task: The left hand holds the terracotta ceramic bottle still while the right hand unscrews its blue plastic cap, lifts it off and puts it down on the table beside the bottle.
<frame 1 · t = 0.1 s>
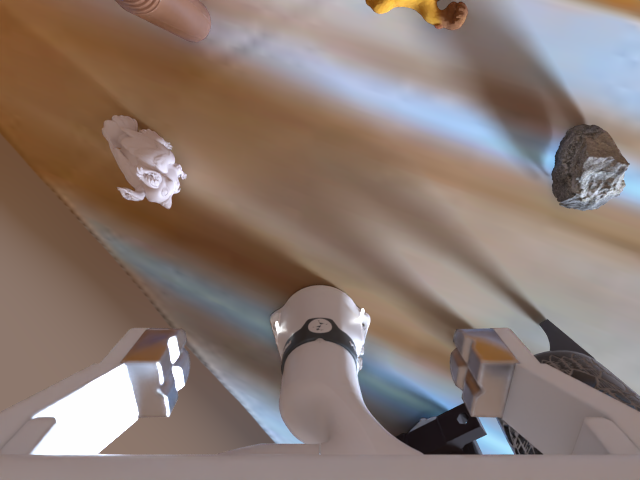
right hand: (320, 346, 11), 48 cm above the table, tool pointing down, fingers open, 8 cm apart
mechanical component: (448, 450, 79), on the table
bottle: (191, 20, 49), on the table
figurine: (157, 157, 56), on the table
planter: (509, 346, 69), on the table
rock: (573, 169, 56), on the table
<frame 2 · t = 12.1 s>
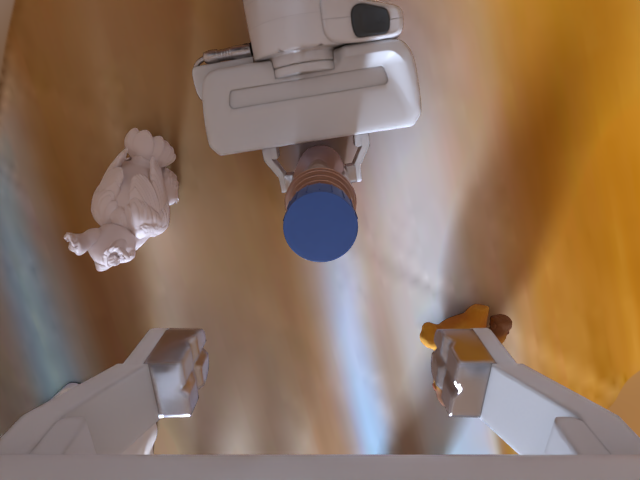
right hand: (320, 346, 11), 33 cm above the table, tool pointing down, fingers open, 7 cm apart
left hand: (322, 186, 36), fingers closed on bottle, 5 cm apart
cap: (320, 226, 21), point 21 cm above the table, screwed on, not yet turned
bottle: (320, 168, 41), on the table, touching left hand
toy: (455, 342, 50), on the table
figurine: (152, 190, 42), on the table
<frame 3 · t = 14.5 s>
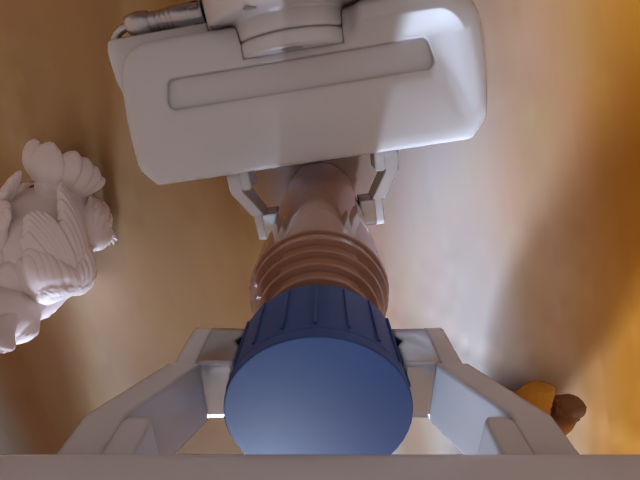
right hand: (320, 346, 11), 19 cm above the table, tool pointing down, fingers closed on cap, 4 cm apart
left hand: (322, 229, 23), fingers closed on bottle, 5 cm apart
cap: (318, 405, 9), point 21 cm above the table, screwed on, not yet turned, touching right hand
bottle: (319, 196, 28), on the table, touching left hand
toy: (500, 422, 37), on the table
figurine: (78, 225, 29), on the table
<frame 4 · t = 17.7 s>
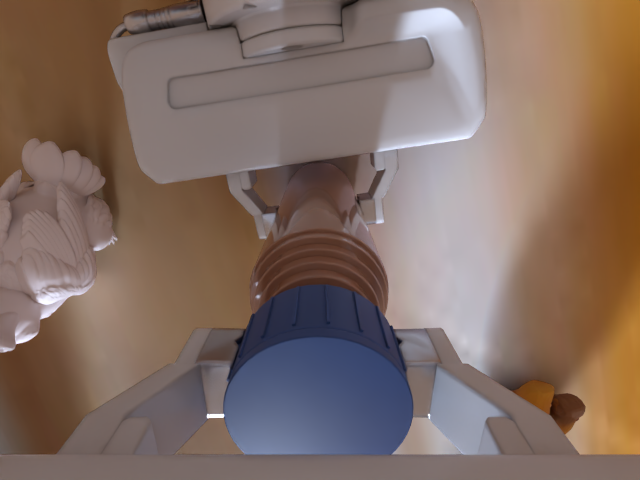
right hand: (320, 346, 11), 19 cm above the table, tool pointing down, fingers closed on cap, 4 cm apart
left hand: (322, 228, 23), fingers closed on bottle, 5 cm apart
cap: (318, 405, 8), point 21 cm above the table, turned 73° so far, risen 0.1 cm, still on its thread, touching right hand
bottle: (319, 195, 28), on the table, touching left hand
toy: (499, 422, 37), on the table
figurine: (78, 225, 29), on the table
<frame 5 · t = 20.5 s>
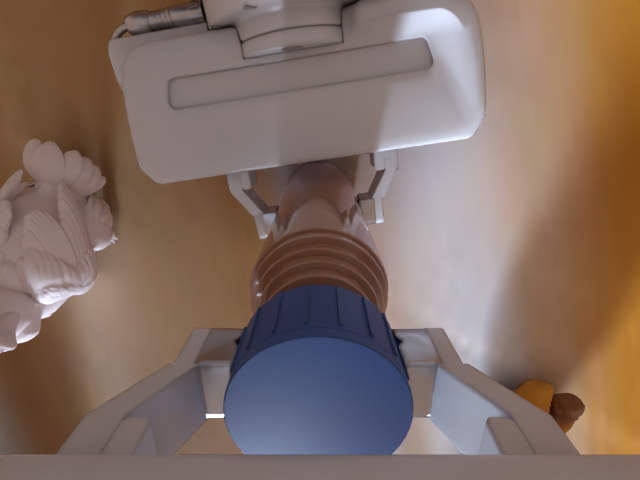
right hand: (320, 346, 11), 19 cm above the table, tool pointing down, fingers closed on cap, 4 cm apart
left hand: (322, 228, 23), fingers closed on bottle, 5 cm apart
cap: (318, 405, 8), point 21 cm above the table, turned 145° so far, risen 0.1 cm, still on its thread, touching right hand
bottle: (319, 195, 28), on the table, touching left hand
toy: (499, 421, 37), on the table
figurine: (79, 225, 29), on the table
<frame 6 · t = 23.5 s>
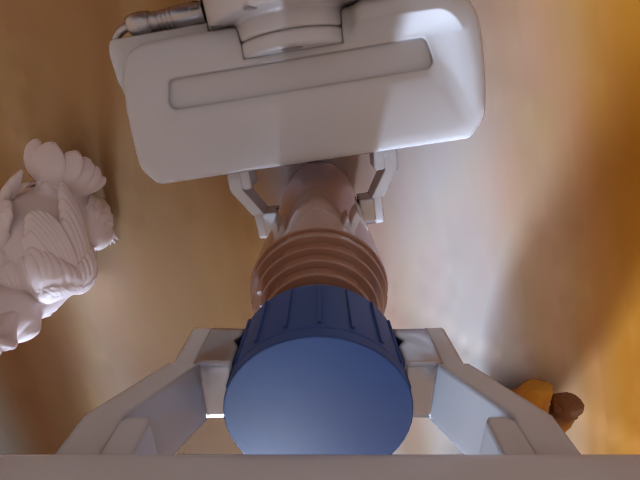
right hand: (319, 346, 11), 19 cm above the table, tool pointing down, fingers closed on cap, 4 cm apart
left hand: (322, 228, 24), fingers closed on bottle, 5 cm apart
cap: (318, 405, 8), point 22 cm above the table, turned 218° so far, risen 0.2 cm, still on its thread, touching right hand
bottle: (319, 195, 29), on the table, touching left hand
toy: (499, 421, 37), on the table
figurine: (79, 225, 29), on the table
when the right hand's fingers open (2 cm above the table, at t = 35.6 s): cap drops 2 cm, point 2 cm above the table.
when the left hand's fingers open (6 cm above the table, at t = 36.7 s): bottle stays where it is, on the table.
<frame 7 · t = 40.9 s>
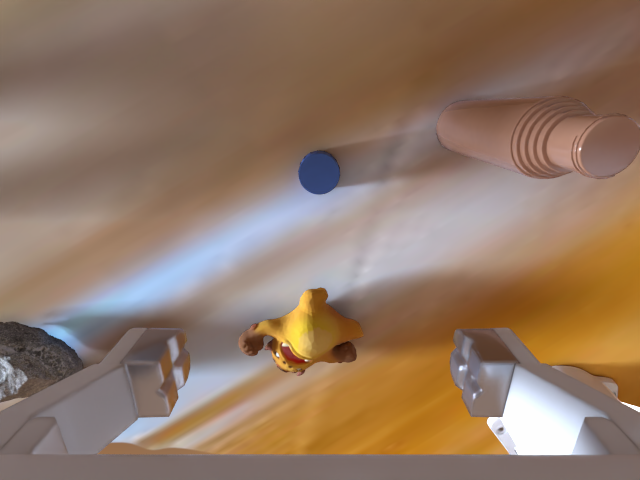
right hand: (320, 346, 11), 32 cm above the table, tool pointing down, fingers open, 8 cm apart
cap: (319, 173, 38), point 2 cm above the table, off its thread
bottle: (460, 126, 38), on the table
toy: (302, 323, 48), on the table
rock: (35, 346, 49), on the table
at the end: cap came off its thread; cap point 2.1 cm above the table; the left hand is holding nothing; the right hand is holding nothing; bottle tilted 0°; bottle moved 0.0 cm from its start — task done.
